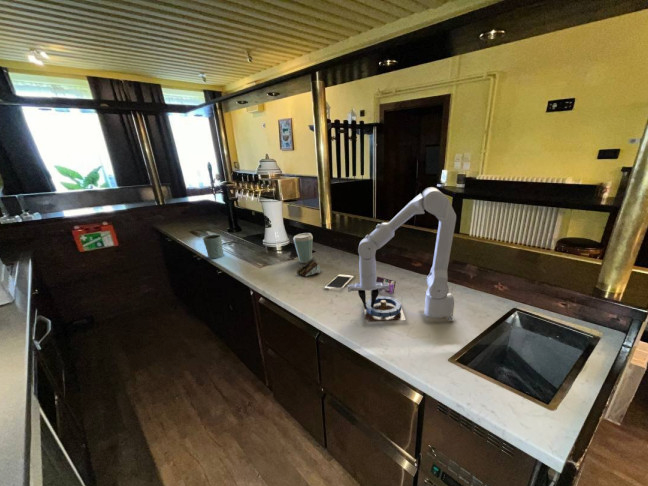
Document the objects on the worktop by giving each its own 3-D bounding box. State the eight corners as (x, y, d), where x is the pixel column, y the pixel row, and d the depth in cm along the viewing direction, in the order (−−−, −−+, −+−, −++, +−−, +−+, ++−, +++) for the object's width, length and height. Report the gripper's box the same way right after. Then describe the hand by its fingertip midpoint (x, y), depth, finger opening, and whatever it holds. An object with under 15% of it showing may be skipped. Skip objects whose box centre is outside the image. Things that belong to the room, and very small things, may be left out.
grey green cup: (210, 253, 187) (205, 235, 182) (227, 252, 188) (223, 233, 182) (205, 259, 178) (200, 239, 173) (222, 258, 178) (218, 238, 173)
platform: (399, 304, 117) (399, 291, 115) (405, 323, 104) (406, 309, 102) (363, 306, 117) (363, 293, 115) (365, 325, 105) (364, 311, 102)
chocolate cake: (302, 280, 144) (318, 260, 144) (294, 272, 148) (309, 253, 148) (313, 286, 152) (328, 267, 152) (305, 279, 156) (320, 261, 156)
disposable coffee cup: (296, 265, 162) (293, 238, 155) (295, 259, 171) (292, 233, 165) (316, 263, 164) (313, 236, 157) (313, 256, 173) (311, 231, 167)
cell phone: (354, 277, 143) (354, 275, 143) (340, 291, 130) (340, 289, 130) (339, 275, 146) (339, 274, 146) (324, 288, 133) (324, 287, 133)
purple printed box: (376, 276, 126) (394, 281, 121) (382, 276, 130) (400, 281, 125) (373, 291, 127) (391, 297, 122) (379, 291, 132) (397, 296, 126)
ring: (398, 299, 115) (398, 295, 115) (403, 316, 104) (403, 312, 103) (365, 301, 116) (365, 297, 115) (367, 318, 104) (366, 313, 103)
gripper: (387, 268, 107) (387, 301, 113) (347, 270, 108) (348, 303, 113) (390, 275, 101) (389, 311, 107) (346, 277, 101) (348, 312, 107)
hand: (368, 307), depth 110 cm, fingers closed on ring, 2 cm apart
